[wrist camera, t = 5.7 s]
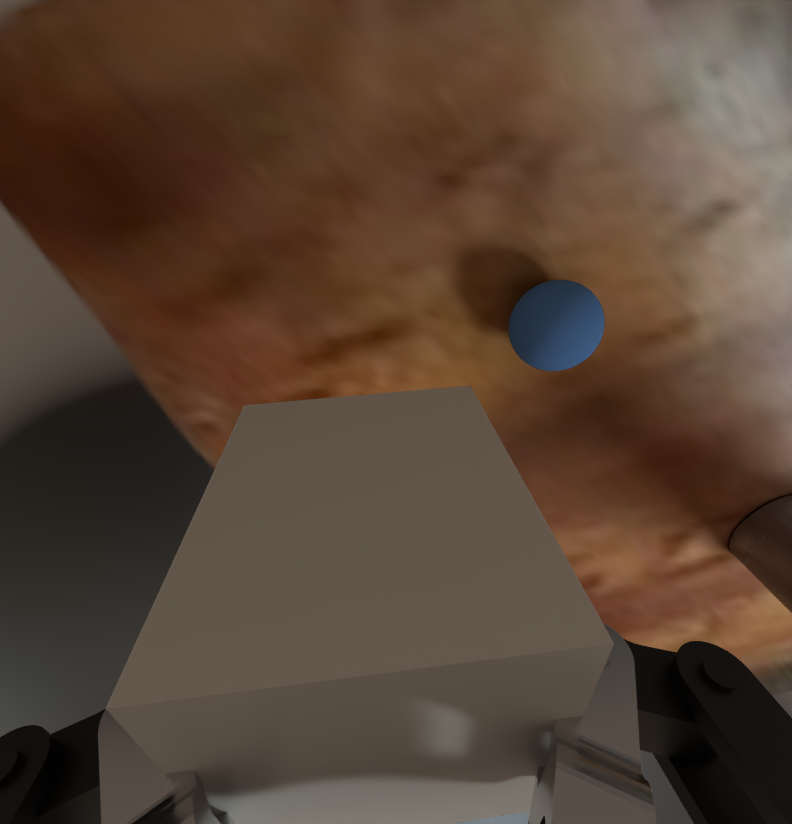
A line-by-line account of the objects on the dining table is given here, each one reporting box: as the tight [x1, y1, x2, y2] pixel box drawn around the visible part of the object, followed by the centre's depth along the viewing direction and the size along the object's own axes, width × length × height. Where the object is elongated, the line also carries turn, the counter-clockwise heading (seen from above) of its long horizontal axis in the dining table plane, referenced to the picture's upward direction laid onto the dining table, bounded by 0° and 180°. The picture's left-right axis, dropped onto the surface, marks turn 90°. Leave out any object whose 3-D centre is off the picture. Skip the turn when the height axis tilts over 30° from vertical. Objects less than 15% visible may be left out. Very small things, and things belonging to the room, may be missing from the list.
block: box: [106, 386, 614, 824], centre depth 10 cm, size 7×7×8 cm
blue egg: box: [509, 280, 605, 371], centre depth 23 cm, size 5×5×5 cm
